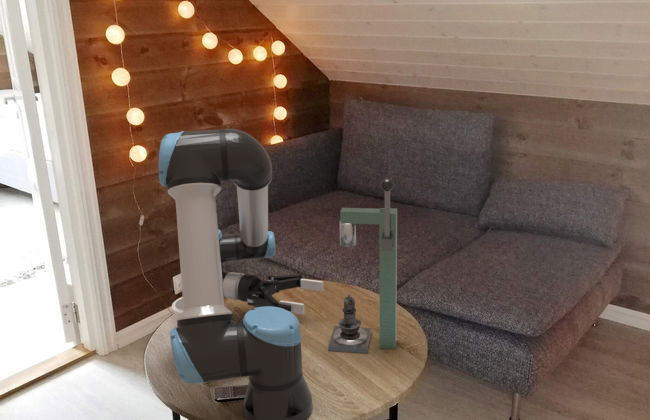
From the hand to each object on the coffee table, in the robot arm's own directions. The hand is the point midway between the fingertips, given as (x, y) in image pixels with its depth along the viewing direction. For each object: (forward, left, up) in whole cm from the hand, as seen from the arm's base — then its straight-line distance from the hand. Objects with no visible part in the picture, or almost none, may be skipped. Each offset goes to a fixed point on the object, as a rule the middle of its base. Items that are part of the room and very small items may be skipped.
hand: (313, 297), depth 152 cm
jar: (-13, +28, -12) cm, 33 cm away
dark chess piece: (-2, -10, -10) cm, 14 cm away
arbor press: (-2, -13, -12) cm, 18 cm away
